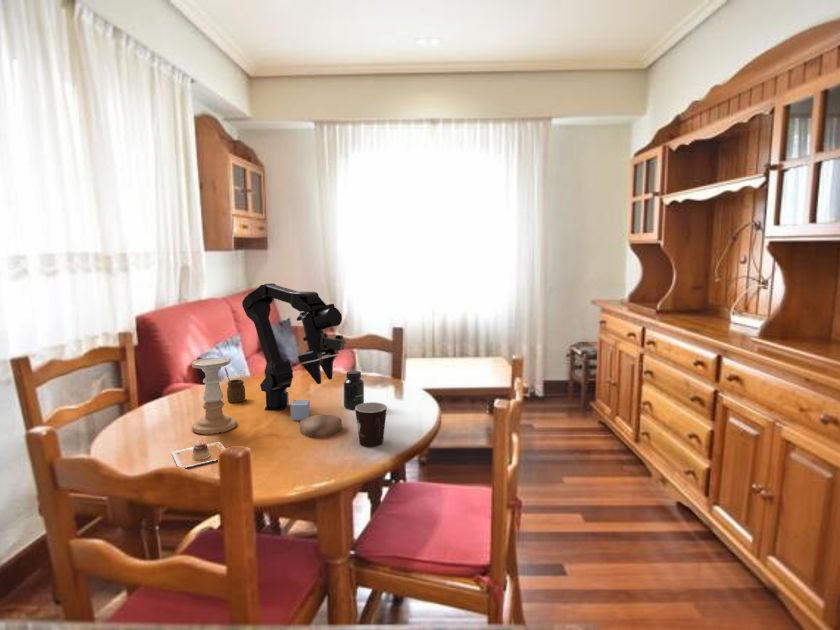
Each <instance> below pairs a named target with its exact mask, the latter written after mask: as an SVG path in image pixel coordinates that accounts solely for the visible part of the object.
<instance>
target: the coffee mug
mask: <svg viewBox="0 0 840 630" xmlns="http://www.w3.org/2000/svg"><path fill="white" fill-rule="evenodd" d="M387 409H388V406H387V405H386V404H385V403H381V402H373V401H372V402H364V403H363V404H359V405H357V406H356V407H355V409H354V410H355V412H354V413H355V418H356V427H357V432H358V440H359V445H360V446H362V447H363V448H378V447H379V446H382V445H383V444H384V436H385V428H386V427H385V426H386V420H387V419H386V418H387V411H388V410H387Z"/></svg>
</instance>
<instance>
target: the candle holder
mask: <svg viewBox="0 0 840 630" xmlns="http://www.w3.org/2000/svg"><path fill="white" fill-rule="evenodd" d="M230 364H231V358H228V357H219V356H218V357H216V356H215V357H207V358H206V357H205V358H199V359H196V360H194V361H192V362H191V367H192V368H195V369H201V370H202V372H204V374H205V377H204V378H203V380H202V383H203V384H205V386H204V392H203V395H202V399H203V401H205V402H204V404H203V405H202V408H203V409H204V410H205V415H204V416H203V417H200V418H199V419H198V420H196V421H194V423H192V425H191V430H192V432H193V431H194V432H193V433H195V432H196V433H195V434H198V433H201V434H200V435H214V434H213V433H216V434H220V433H219V432H221V433H225V432H228V431H231V430H233V429H234V428H235V427H236V426H237V423H238V422H237V419H236V418H235V417H233V416H230V415H229V414H226V413H225V414H224V413H223V407H224V405H225V402H224V401H222V400H223V398H224V393H223V391H222V388H221V384H220V383H221V381H222V378H221V377H220V376H219V372H220V370H221V369H222V368H223V367H225V366H228V365H230Z"/></svg>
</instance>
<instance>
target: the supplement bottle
mask: <svg viewBox="0 0 840 630" xmlns="http://www.w3.org/2000/svg"><path fill="white" fill-rule="evenodd" d="M345 377H346V379H345V380H344V381H343V406H344V408H345V409H348V410H355V407H356V406H357V405H359V404H363V403H365V382H364V380H363V379H362V371H360V370H348V371H346V376H345Z"/></svg>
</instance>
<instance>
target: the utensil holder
mask: <svg viewBox="0 0 840 630" xmlns="http://www.w3.org/2000/svg"><path fill="white" fill-rule="evenodd" d="M224 371H225V374H226V377H227V379H228V381H227V388H226V395H227V396H226V399H227V402H228V403H232V404H236V403H241V402H244V401H245V400H246V387H245V385H244V380H243V379H244V376H241V375H242V374H245V371H243V369H240V370H238V371H237V373H236V374H237V375H239V374H240V375H239V376H240V377H239V376H236V379H230V377H229V373H228V370H227V367H225V366H224ZM241 377H242V378H241ZM239 378H241V379H239Z"/></svg>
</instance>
